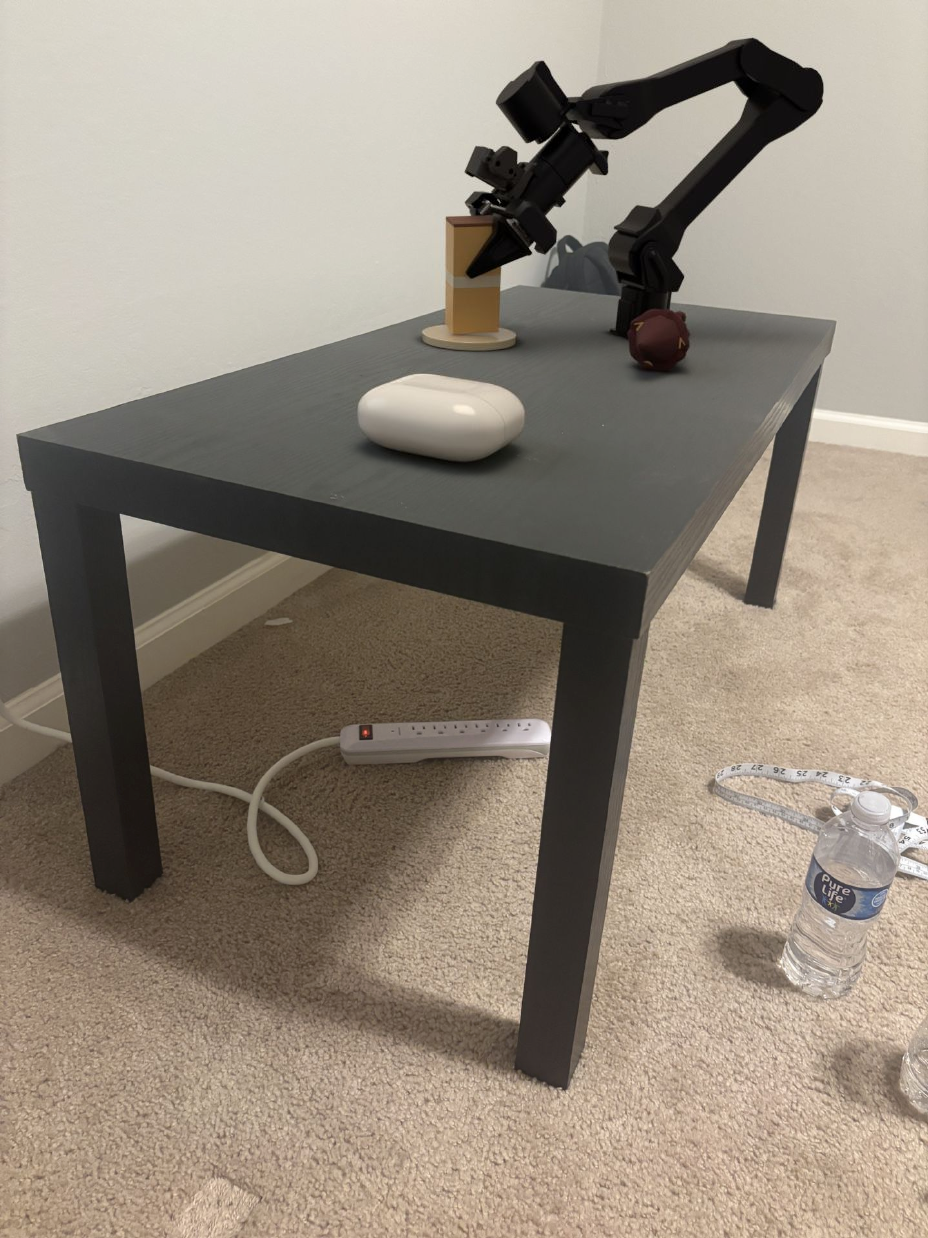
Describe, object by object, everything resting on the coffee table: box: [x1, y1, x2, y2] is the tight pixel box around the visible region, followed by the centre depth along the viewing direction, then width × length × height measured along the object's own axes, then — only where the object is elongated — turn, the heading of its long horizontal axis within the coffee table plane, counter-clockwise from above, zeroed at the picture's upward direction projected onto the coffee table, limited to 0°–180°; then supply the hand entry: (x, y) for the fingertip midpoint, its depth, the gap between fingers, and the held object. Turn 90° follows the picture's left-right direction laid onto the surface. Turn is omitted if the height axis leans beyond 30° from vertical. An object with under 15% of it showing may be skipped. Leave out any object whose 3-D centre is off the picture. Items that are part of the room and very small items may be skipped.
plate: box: [421, 324, 517, 352], centre depth 116 cm, size 12×12×1 cm
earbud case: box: [356, 373, 526, 463], centre depth 75 cm, size 10×13×5 cm
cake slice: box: [444, 215, 502, 335], centre depth 112 cm, size 6×4×13 cm
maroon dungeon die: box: [627, 309, 691, 372], centre depth 104 cm, size 7×7×15 cm
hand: (461, 272), depth 112 cm, fingers closed on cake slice, 5 cm apart
